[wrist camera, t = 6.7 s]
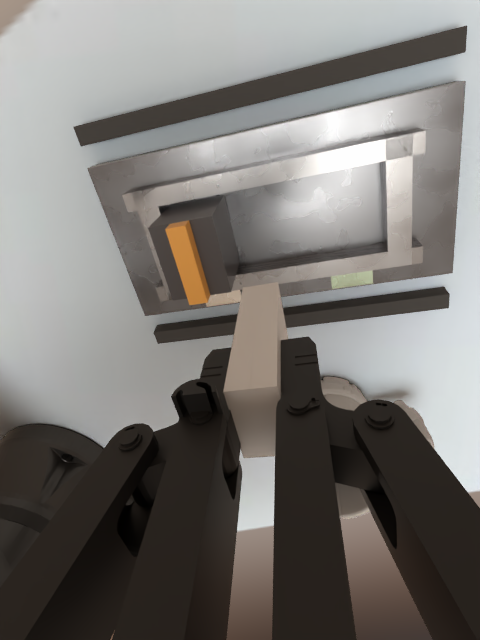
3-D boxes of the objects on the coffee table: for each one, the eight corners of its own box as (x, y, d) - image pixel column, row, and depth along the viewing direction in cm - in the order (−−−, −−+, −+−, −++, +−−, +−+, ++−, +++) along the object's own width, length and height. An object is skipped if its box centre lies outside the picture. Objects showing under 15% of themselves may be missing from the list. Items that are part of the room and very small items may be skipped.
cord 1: (161, 336, 35) (157, 343, 34) (157, 325, 35) (153, 332, 34) (443, 300, 30) (448, 307, 29) (443, 286, 30) (449, 294, 29)
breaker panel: (150, 307, 34) (138, 326, 31) (96, 164, 28) (76, 172, 25) (445, 264, 29) (461, 282, 26) (455, 81, 23) (477, 81, 20)
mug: (279, 380, 37) (275, 494, 26) (410, 359, 34) (462, 478, 24) (296, 435, 40) (299, 554, 30) (416, 420, 37) (464, 547, 27)
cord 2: (88, 143, 27) (81, 146, 26) (81, 125, 26) (73, 127, 25) (457, 53, 22) (465, 52, 21) (458, 28, 22) (467, 25, 21)
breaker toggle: (189, 269, 30) (168, 308, 25) (169, 205, 27) (142, 233, 22) (239, 261, 29) (229, 299, 24) (224, 194, 26) (208, 220, 21)
